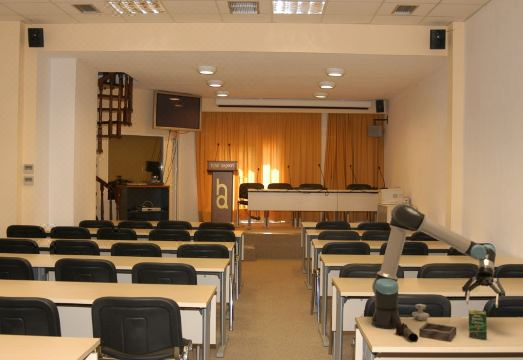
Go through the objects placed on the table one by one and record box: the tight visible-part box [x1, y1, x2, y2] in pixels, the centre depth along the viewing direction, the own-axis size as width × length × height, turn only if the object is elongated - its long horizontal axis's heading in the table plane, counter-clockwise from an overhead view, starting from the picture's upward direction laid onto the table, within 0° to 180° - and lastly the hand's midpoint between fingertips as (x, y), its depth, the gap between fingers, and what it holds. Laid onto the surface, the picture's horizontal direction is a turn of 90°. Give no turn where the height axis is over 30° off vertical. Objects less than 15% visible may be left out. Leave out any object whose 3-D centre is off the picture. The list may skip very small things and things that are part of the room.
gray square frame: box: [418, 322, 457, 343], centre depth 244 cm, size 14×14×4 cm
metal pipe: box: [395, 321, 419, 343], centre depth 242 cm, size 18×7×6 cm, turn 3°
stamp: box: [411, 303, 430, 321], centre depth 274 cm, size 9×7×8 cm
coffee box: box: [468, 309, 488, 340], centre depth 241 cm, size 8×3×13 cm, turn 60°
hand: (481, 304), depth 249 cm, fingers open, 13 cm apart
